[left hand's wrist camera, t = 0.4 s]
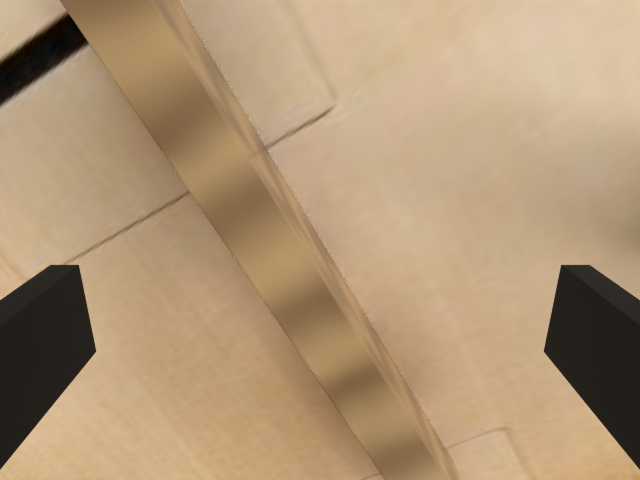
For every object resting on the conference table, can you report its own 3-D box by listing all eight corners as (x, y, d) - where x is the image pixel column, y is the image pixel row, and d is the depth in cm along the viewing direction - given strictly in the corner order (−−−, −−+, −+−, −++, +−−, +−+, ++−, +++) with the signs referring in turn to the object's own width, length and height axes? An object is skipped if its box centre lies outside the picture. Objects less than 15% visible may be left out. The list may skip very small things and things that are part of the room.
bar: (95, -15, 32) (32, -41, 25) (147, -51, 32) (96, -88, 24) (415, 479, 49) (432, 549, 42) (454, 463, 48) (478, 531, 41)
